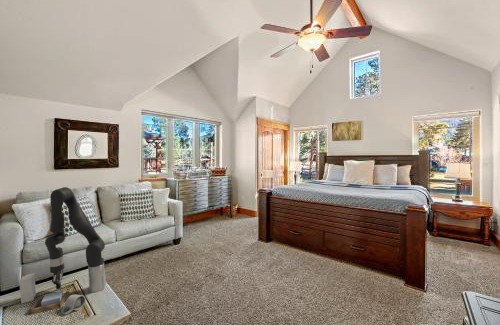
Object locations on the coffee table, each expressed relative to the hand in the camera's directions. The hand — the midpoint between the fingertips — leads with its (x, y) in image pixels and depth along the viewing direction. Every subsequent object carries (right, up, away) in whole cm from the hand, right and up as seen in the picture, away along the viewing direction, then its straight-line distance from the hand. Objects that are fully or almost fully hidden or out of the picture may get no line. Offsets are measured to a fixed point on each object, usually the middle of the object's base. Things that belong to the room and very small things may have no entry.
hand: (58, 288), depth 158 cm
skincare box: (-13, -3, -8) cm, 16 cm away
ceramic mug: (+24, -3, -18) cm, 30 cm away
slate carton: (+7, -3, -13) cm, 15 cm away
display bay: (+5, -3, -13) cm, 14 cm away
